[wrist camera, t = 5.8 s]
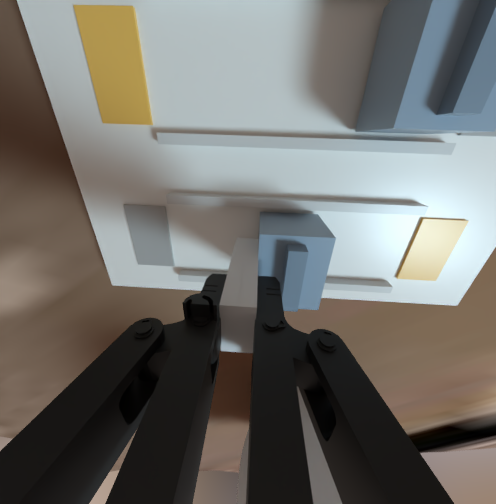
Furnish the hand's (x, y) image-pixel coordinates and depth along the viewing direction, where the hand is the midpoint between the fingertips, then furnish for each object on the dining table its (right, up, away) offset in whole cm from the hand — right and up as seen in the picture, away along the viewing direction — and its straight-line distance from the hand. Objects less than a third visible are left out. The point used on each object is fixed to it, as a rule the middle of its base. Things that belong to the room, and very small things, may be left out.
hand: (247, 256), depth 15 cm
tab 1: (+3, +1, +2) cm, 3 cm away
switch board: (+3, +6, +1) cm, 7 cm away
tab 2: (+8, +9, -3) cm, 13 cm away
